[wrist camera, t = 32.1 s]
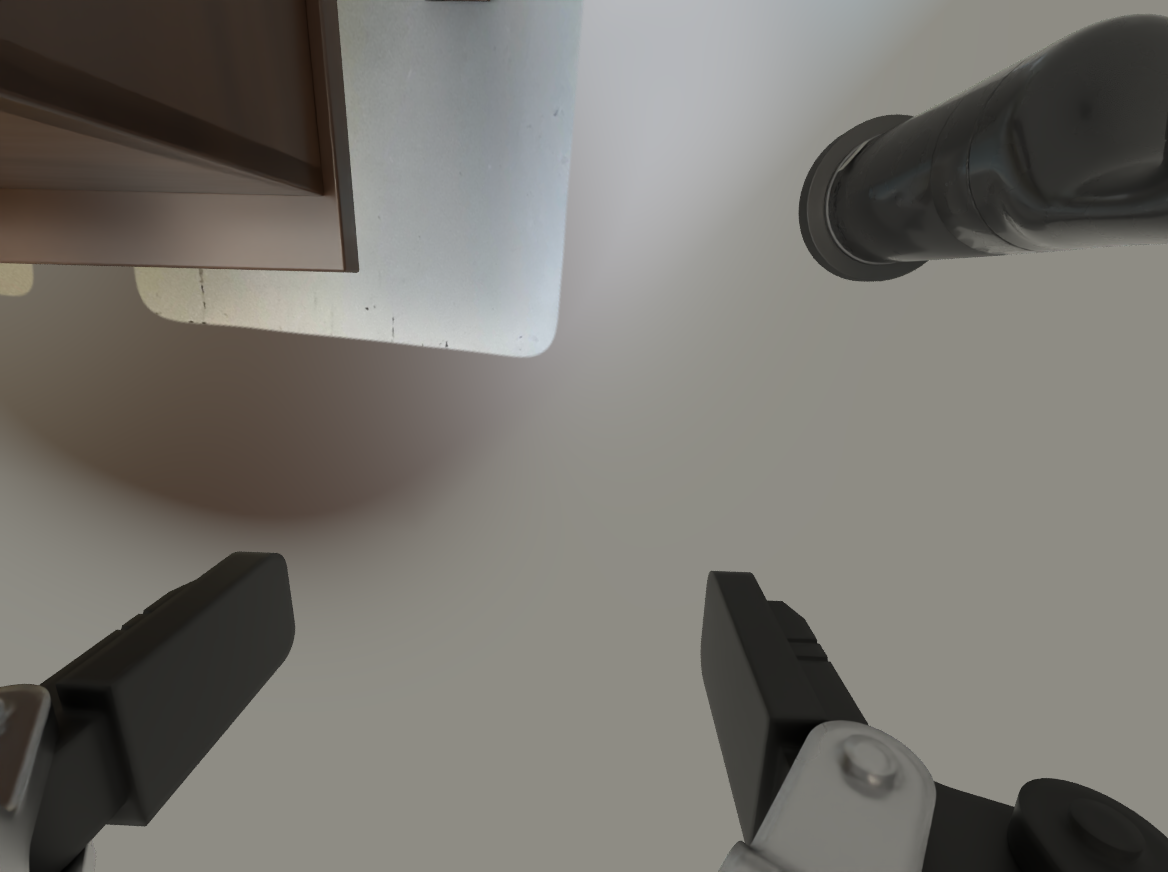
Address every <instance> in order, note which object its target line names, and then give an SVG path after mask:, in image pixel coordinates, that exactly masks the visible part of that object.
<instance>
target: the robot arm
mask: <svg viewBox="0 0 1168 872" xmlns="http://www.w3.org/2000/svg"><path fill="white" fill-rule="evenodd" d="M824 219H825V224H826V228H827V231H828V233H829V235H830V237H831V239H832V241H833V242H834V244H835V245H836V246H837V247H838V249H839V250H840V251H841V252H843V253H844V254H845V255H846V256H848V257H850V258H851V259H853V260H856V261H858V262H861V263H865V264H872V265H882V264H891V263H896V262H910V261H925V260H939V259H953V258H968V257H984V256H998V255H1008V254H1023V253H1038V252H1054V251H1065V250H1077V249H1086V248H1098V247H1111V246H1127V245H1147V244H1148V245H1149V244H1168V17H1166V16H1162V15H1155V14H1134V15H1127V16H1121V17H1115V18H1111V19H1106V20H1103V21H1100V22H1097V23H1094V24H1092V25H1089V26H1087V27H1084V28H1082V29H1080V30H1078V31H1076V32H1074V33H1071V34H1069V35H1067V36H1066V37H1064V38H1062V39H1060V40H1058V41H1056V42H1054V43H1052V44H1051V45H1049V46H1047V47H1045V48H1043V49H1041V50H1039V51H1037V52H1035V53H1034V54H1032V55H1030V56H1028V57H1026V58H1024V59H1022V60H1020V61H1018V62H1017V63H1015V64H1013V65H1011V66H1009V67H1007V68H1005V69H1003V70H1001V71H999V72H998V73H996V74H995V75H993V76H991V77H989V78H987V79H985V80H983V81H981V82H979V83H978V84H976V85H974V86H972V87H970V88H968V89H966V90H964V91H962V92H960V93H958V94H957V95H955V96H953V97H951V98H949V99H947V100H945V101H943V102H941V103H940V104H938V105H936V106H934V107H932V108H930V109H928V110H926V111H925V112H923V113H921V114H919V115H917V116H915V117H913V118H911V119H909V120H907V121H906V122H904V123H902V124H900V125H898V126H896V127H894V128H892V129H890V130H888V131H886V132H884V133H882V134H880V135H877V136H874V137H872V138H870V139H868V140H866V141H864V142H863V143H861V144H859V145H858V146H856V147H855V148H854V149H853V150H851V151H850V152H849V153H848V154H847V155H846V156H845V157H844V158H843V159H842V161H841V162H840V163H839V165H838V166H837V167H836V169H835V171H834V172H833V174H832V176H831V178H830V181H829V183H828V186H827V189H826V193H825V198H824ZM702 629H703V630H702V638H701V667H702V675H703V680H704V684H705V689H706V692H707V696H708V700H709V704H710V708H711V712H712V716H713V720H714V724H715V728H716V732H717V735H718V739H719V743H720V747H721V751H722V755H723V758H724V763H725V767H726V770H727V774H728V778H729V782H730V786H731V790H732V794H733V798H734V802H735V805H736V809H737V813H738V817H739V821H740V825H741V829H742V832H743V837H744V841H745V843H744V842H742V841H739V842H737V843H736V844H735V845H734V846H733V848H732V849H731V850H730V852H729V854H728V855H727V857H726V858H725V860H724V862H723V864H722V865H721V867H720V869H719V871H718V872H1168V838H1167V837H1166V836H1165V835H1164V834H1163V833H1161V832H1160V831H1159V830H1158V829H1157V828H1155V827H1154V826H1153V825H1152V824H1151V823H1149V822H1148V821H1147V820H1145V819H1144V818H1143V817H1141V816H1139V815H1138V814H1137V813H1135V812H1134V811H1132V810H1131V809H1129V808H1128V807H1126V806H1124V805H1123V804H1121V803H1119V802H1118V801H1116V800H1114V799H1112V798H1110V797H1108V796H1106V795H1104V794H1102V793H1100V792H1097V791H1095V790H1093V789H1090V788H1088V787H1085V786H1082V785H1079V784H1076V783H1073V782H1069V781H1065V780H1059V779H1052V778H1041V779H1035V780H1032V781H1029V782H1027V783H1026V784H1025V785H1024V786H1023V787H1022V788H1021V790H1020V792H1019V795H1018V798H1017V801H1016V804H1015V807H1013V806H1009V805H1006V804H1003V803H999V802H996V801H992V800H990V799H986V798H983V797H980V796H976V795H973V794H970V793H966V792H963V791H960V790H956V789H953V788H950V787H947V786H945V785H942V784H940V783H937V782H935V781H933V779H932V776H931V774H930V773H929V771H928V769H927V768H926V766H925V765H924V764H923V762H922V761H921V760H920V759H919V758H918V757H917V756H916V755H915V754H914V753H913V752H912V751H911V750H910V749H909V748H908V747H906V746H905V745H904V744H902V743H901V742H900V741H898V740H897V739H895V738H894V737H892V736H890V735H888V734H887V733H885V732H883V731H881V730H879V729H876V728H874V727H871V726H869V725H868V723H867V722H866V720H865V718H864V717H863V715H862V713H861V712H860V710H859V708H858V707H857V705H856V703H855V702H854V700H853V698H852V697H851V695H850V693H849V692H848V690H847V689H846V687H845V685H844V684H843V682H842V680H841V679H840V677H839V676H838V674H837V672H836V670H835V669H834V667H833V665H832V664H831V662H828V659H827V658H828V657H827V655H826V654H825V652H824V650H823V649H822V647H821V645H820V644H817V639H816V637H815V635H814V634H813V632H812V631H811V629H810V627H809V626H808V624H807V622H806V621H805V619H804V618H803V617H801V616H800V615H799V614H798V613H796V612H795V611H794V610H793V609H791V608H790V607H789V606H788V605H786V604H785V603H784V602H783V601H767V600H766V598H765V596H764V594H763V592H762V590H761V588H760V587H759V585H758V583H757V581H756V579H755V577H754V575H753V574H752V573H750V572H725V571H710V573H709V575H708V580H707V588H706V598H705V608H704V618H703V628H702ZM294 635H295V623H294V614H293V607H292V600H291V593H290V585H289V578H288V572H287V565H286V562H285V559H284V557H283V556H282V555H280V554H278V553H262V552H261V553H260V552H235V553H232V554H231V555H230V556H228V557H226V558H225V559H224V560H222V561H221V562H220V563H218V564H217V565H216V566H214V567H213V568H211V569H210V570H209V571H207V572H206V573H205V574H203V575H202V576H201V577H199V578H198V579H197V580H194V581H192V582H190V583H188V584H186V585H183V586H181V587H179V588H177V589H175V590H172V591H170V592H168V593H167V594H166V595H164V596H163V597H161V598H160V599H159V600H157V601H156V602H155V603H153V604H152V605H150V606H149V607H148V608H146V609H145V610H144V612H143V614H138V615H136V616H135V617H134V618H132V619H131V620H129V621H128V622H127V623H125V624H124V625H122V629H121V630H116V631H114V632H113V633H111V634H110V635H108V636H107V637H106V638H104V639H103V640H102V641H100V642H99V643H97V644H96V645H95V646H93V647H92V648H90V649H89V650H88V651H86V652H85V653H83V654H82V655H81V656H79V657H78V658H76V659H75V660H74V661H72V662H71V663H69V664H68V665H67V666H65V667H64V668H62V669H61V670H60V671H58V672H57V673H56V674H54V675H53V676H51V677H50V678H48V679H47V680H46V681H44V682H43V683H41V684H40V685H34V684H17V685H10V686H4V687H0V872H94V870H95V862H96V852H95V848H94V845H93V841H92V839H93V838H94V837H95V835H96V834H97V833H98V832H99V831H100V830H101V829H102V828H103V827H104V826H105V825H106V824H110V825H129V826H147V824H148V823H149V822H150V821H151V820H152V818H153V817H154V816H155V815H156V814H157V812H158V811H159V810H160V809H161V808H162V806H163V805H164V804H165V803H166V802H167V800H168V799H169V798H170V797H171V795H172V794H173V793H174V792H175V791H176V790H177V788H178V787H179V786H180V785H181V784H182V783H183V781H184V780H185V779H186V778H187V776H188V775H189V774H190V773H191V772H192V770H193V769H194V768H195V767H196V766H197V765H198V764H199V762H200V761H201V760H202V759H203V757H204V756H205V755H206V754H207V753H208V752H209V750H210V749H211V748H212V747H213V746H214V744H215V743H216V742H217V741H218V740H219V738H220V737H221V736H222V735H223V734H224V732H225V731H226V730H227V729H228V728H229V726H230V725H231V724H232V722H234V720H235V719H236V718H237V717H238V716H239V714H240V713H241V712H242V711H243V710H244V709H245V707H246V706H247V705H248V704H249V703H250V701H251V700H252V699H253V698H254V697H255V695H256V694H257V693H258V692H259V691H260V689H261V688H262V687H263V686H264V685H265V683H266V682H267V681H268V680H269V679H270V677H271V676H272V675H273V674H274V673H275V671H276V670H277V669H278V668H279V667H280V666H281V664H282V663H283V662H284V661H285V659H286V657H287V656H288V654H289V652H290V650H291V647H292V644H293V640H294Z"/></svg>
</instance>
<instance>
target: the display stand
mask: <svg viewBox="0 0 1168 872" xmlns="http://www.w3.org/2000/svg"><path fill="white" fill-rule="evenodd" d="M446 1H490V0H446ZM0 263H20V264H58V265H94V266H95V265H96V266H131V267H167V268H204V269H241V270H278V271H315V272H352V273H357V272H359V262H358V250H357V238H356V226H355V214H354V202H353V190H352V178H351V166H350V154H349V141H348V129H347V117H346V105H345V93H344V81H343V69H342V57H341V45H340V33H339V21H338V9H337V0H0Z"/></svg>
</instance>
